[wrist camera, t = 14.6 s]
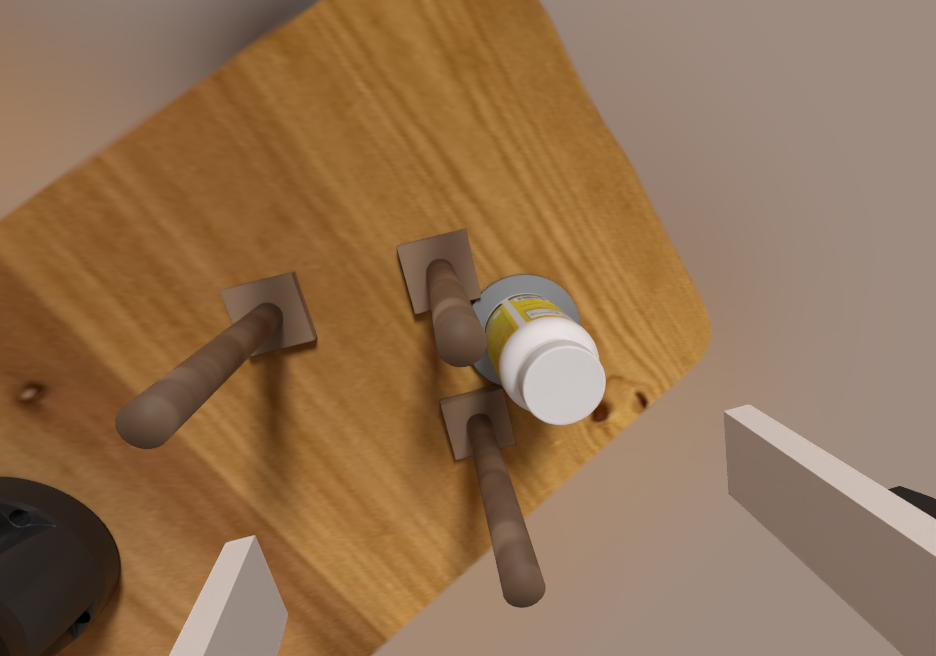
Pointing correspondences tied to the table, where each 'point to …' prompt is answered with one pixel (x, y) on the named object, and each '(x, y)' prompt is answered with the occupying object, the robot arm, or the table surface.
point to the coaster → (512, 287)
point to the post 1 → (219, 358)
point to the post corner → (446, 293)
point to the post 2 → (496, 487)
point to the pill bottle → (544, 359)
